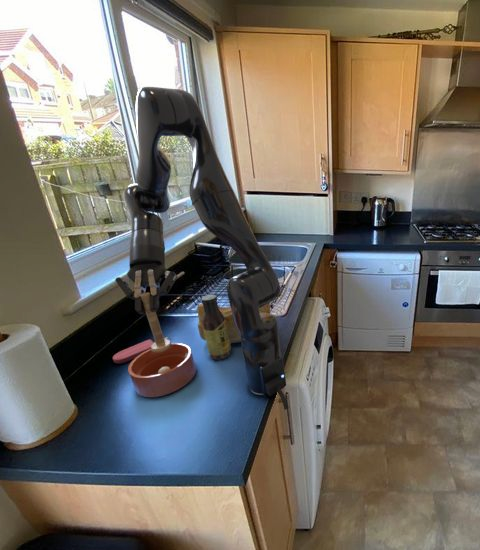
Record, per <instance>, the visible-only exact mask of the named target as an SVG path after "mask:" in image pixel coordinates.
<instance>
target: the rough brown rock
mask: <svg viewBox="0 0 480 550" xmlns="http://www.w3.org/2000/svg"><path fill="white" fill-rule="evenodd" d="M218 307H219V310H220V312H221V313H222V314H223V316H224V317H225V320H226V325H227V330H228V335H229V340H230V344H236V343H241V340H240V334H239V330H238V328H237V326H236V324H235V322H234V318H233V314H232V310H231V306H230V305H229V306H227V307H225V306H220V305H218ZM196 312H197V319H198V322H197V323H198V324H197V329H198V333H199V337H200V338H201V339H202V340H203V341H205V342H206V338H205V334H204V329H203V323H202V318H203V315H204V313H205V312H204V307H203V304H202V303H200V304H199V305H197V306H196ZM259 312H264V313H269V314H271V302H270V303H268V304H266V305H264V306H263V307H261V308H259Z"/></svg>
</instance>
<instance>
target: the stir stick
mask: <svg viewBox="0 0 480 550" xmlns="http://www.w3.org/2000/svg"><path fill="white" fill-rule="evenodd" d="M140 296H141V299H142V302H143V305H144V309H145V315H146V318H147V320H148V323H149V327H150V331H151V333H152V336H153V339H154V342H155V343H154V344H152V346H151V349H152V351H153V352H155V353H159V352H163V351H166V350H168V349H169V348H170V347H171V343H172V342H171V340H170V339H165V340H164V338H165V337H164V333H163V331H162V328H161V324H160V321H159V318H158V314H157V311H156V312H151V311H150V296H151V292H148V291H147V292H145V293H143V294H141V295H140Z"/></svg>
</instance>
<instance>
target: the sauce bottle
mask: <svg viewBox="0 0 480 550" xmlns="http://www.w3.org/2000/svg"><path fill="white" fill-rule="evenodd" d="M200 302H201V304H203V307H204V312H205V313H204V315H203V318H202V323H203V329H204V334H205V338H206V341H205V343H206V346H207V350H208V354H209V356H210V358H211V359H212V360H215V361H218V360H223V359H225V358H227V357H229V356H230V355H231V353H232V349H231V348H232V346H231V343H230V340H229V335H228V330H227V325H226V320H225V317H224V316H223V314H222V313H221V312H220V310H219V307H218V306H219V304H218V297H217V295H216V294H206V295H204V296H202V297H201V298H200Z"/></svg>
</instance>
